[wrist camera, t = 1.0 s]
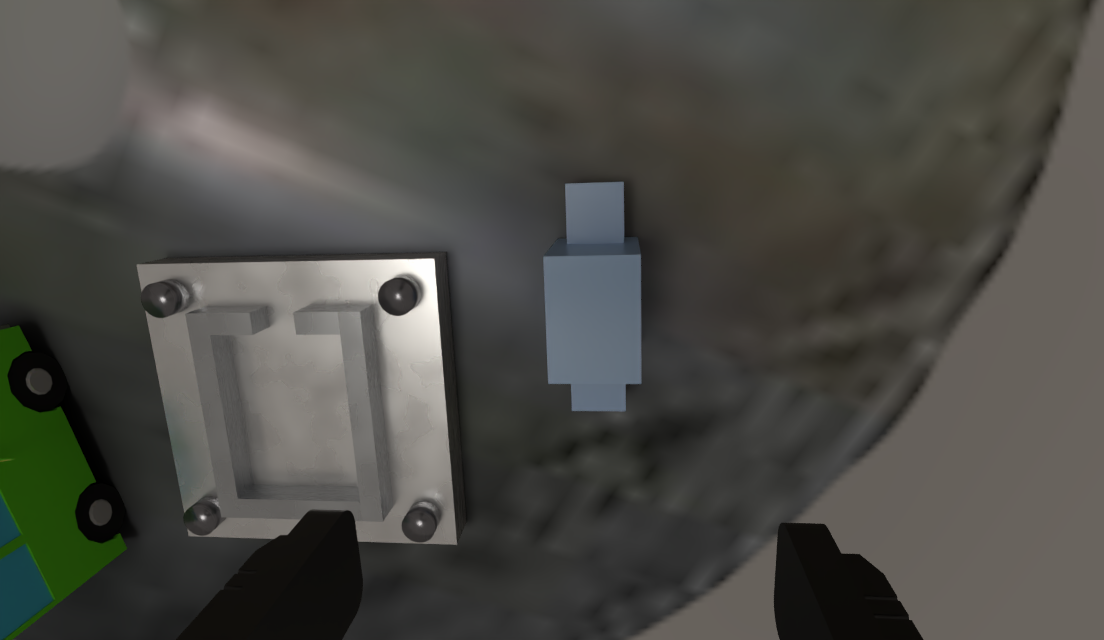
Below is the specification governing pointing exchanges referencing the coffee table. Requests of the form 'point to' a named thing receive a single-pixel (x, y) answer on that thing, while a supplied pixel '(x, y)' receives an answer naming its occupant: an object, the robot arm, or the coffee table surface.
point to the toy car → (45, 492)
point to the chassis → (310, 392)
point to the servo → (594, 300)
